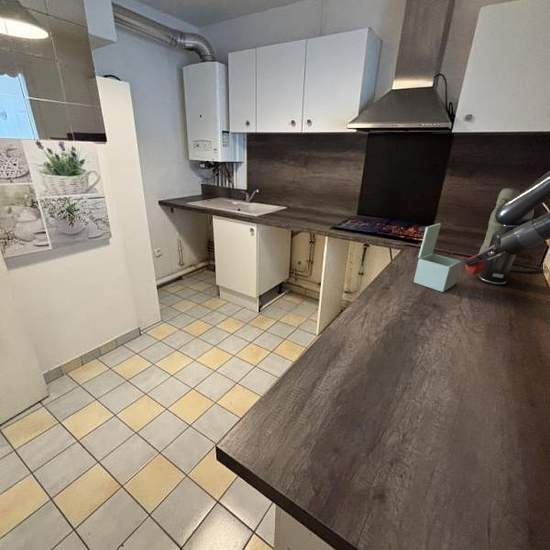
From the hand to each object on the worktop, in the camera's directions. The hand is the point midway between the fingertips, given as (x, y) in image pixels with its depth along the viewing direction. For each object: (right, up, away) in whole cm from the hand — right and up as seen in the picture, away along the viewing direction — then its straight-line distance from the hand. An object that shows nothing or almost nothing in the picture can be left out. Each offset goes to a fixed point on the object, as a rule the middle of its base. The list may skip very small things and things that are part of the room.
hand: (470, 262), depth 104 cm
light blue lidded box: (-5, -8, +15) cm, 18 cm away
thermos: (+38, +3, +43) cm, 58 cm away
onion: (+1, -5, +1) cm, 5 cm away
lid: (-8, +9, +12) cm, 17 cm away
